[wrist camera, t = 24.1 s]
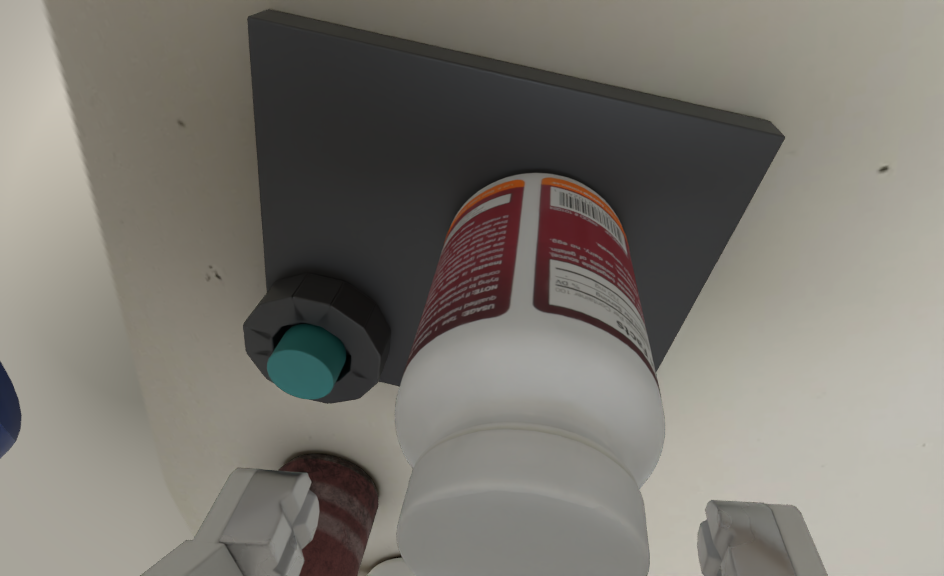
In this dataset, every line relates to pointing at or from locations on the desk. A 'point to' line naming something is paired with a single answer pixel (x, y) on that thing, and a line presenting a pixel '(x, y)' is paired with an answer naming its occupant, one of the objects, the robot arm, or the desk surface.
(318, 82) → the scale
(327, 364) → the button
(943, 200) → the desk surface
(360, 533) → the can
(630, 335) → the pill bottle
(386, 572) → the mug
